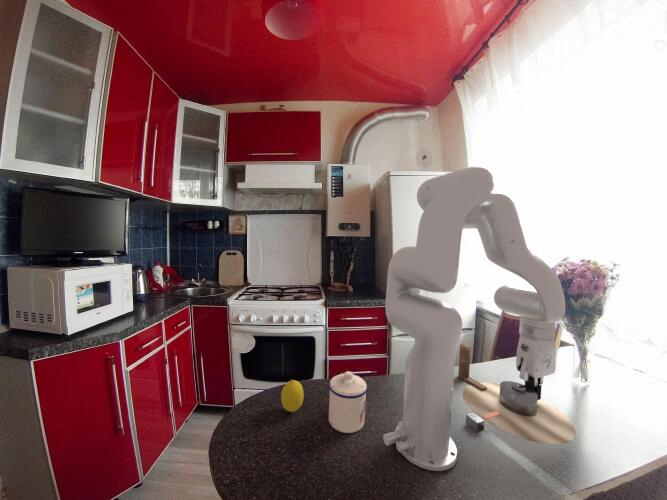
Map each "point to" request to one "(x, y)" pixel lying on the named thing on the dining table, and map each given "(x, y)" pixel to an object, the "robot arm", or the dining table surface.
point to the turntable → (485, 403)
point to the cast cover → (518, 398)
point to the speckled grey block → (475, 422)
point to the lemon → (292, 396)
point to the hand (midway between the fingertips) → (532, 397)
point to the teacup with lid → (347, 402)
